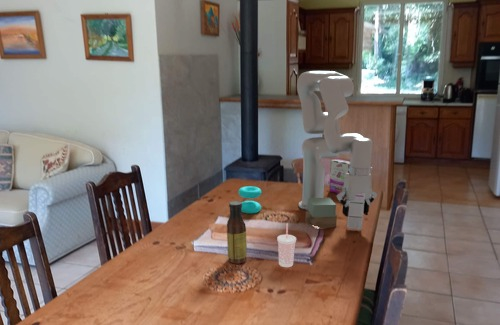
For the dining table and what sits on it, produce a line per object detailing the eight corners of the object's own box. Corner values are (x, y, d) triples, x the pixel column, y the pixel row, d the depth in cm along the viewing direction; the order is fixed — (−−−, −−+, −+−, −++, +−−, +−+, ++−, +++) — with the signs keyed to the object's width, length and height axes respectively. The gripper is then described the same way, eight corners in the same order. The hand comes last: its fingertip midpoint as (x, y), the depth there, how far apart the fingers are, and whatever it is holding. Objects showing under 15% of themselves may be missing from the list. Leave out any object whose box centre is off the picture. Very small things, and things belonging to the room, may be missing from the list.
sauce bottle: (249, 258, 146) (250, 201, 142) (242, 266, 141) (243, 207, 136) (231, 255, 148) (231, 198, 144) (224, 262, 143) (223, 204, 138)
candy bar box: (353, 194, 218) (355, 162, 214) (347, 196, 214) (349, 163, 210) (334, 189, 226) (336, 158, 222) (328, 191, 222) (330, 159, 218)
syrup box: (362, 230, 167) (365, 194, 163) (346, 228, 168) (349, 192, 164) (361, 224, 172) (365, 189, 169) (346, 222, 173) (349, 187, 170)
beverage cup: (283, 269, 138) (285, 228, 135) (272, 262, 143) (273, 222, 140) (299, 265, 141) (300, 224, 138) (287, 258, 146) (289, 218, 143)
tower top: (307, 209, 180) (308, 198, 179) (329, 209, 181) (329, 197, 180) (312, 217, 171) (313, 205, 170) (335, 216, 172) (336, 204, 171)
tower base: (305, 222, 180) (305, 210, 179) (324, 219, 183) (324, 208, 182) (316, 230, 172) (317, 218, 171) (336, 227, 175) (336, 215, 174)
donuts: (237, 191, 186) (239, 185, 196) (237, 213, 188) (239, 206, 198) (260, 192, 185) (262, 185, 195) (260, 214, 187) (261, 207, 197)
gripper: (375, 167, 170) (370, 209, 175) (333, 168, 166) (330, 212, 170) (385, 172, 163) (380, 216, 167) (342, 174, 159) (338, 219, 163)
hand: (355, 214), depth 169 cm, fingers closed on syrup box, 7 cm apart
